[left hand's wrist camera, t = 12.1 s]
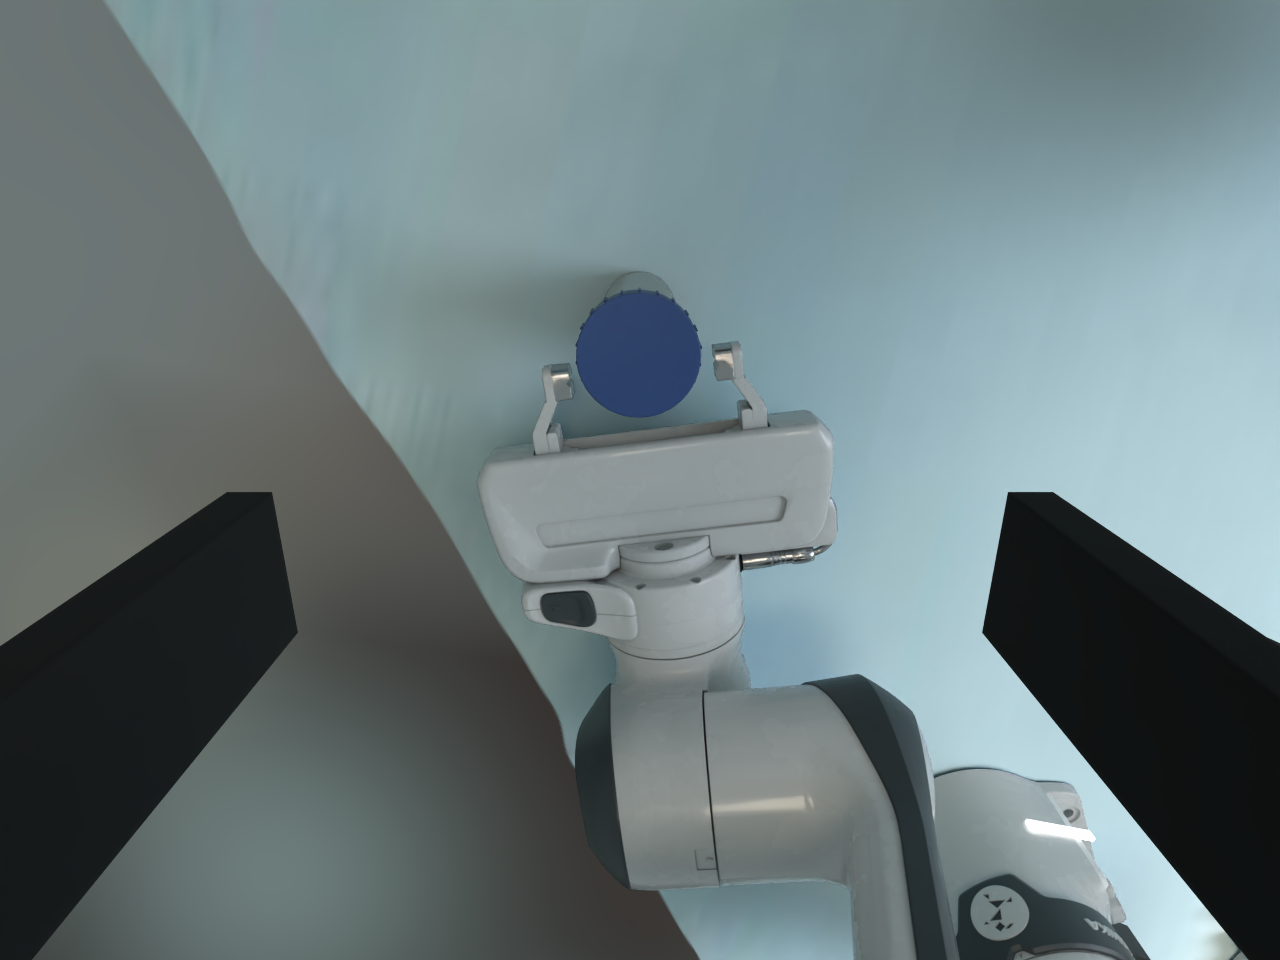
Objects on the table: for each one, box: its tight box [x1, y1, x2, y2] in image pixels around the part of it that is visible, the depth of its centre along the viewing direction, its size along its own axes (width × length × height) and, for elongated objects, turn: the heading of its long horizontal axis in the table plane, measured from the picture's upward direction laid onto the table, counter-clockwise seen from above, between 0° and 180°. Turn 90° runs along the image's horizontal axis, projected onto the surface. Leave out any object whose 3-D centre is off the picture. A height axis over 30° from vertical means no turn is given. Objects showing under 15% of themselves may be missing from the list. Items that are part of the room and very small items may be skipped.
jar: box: [605, 271, 674, 299], centre depth 39 cm, size 4×4×16 cm
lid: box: [576, 288, 702, 417], centre depth 31 cm, size 5×5×2 cm
